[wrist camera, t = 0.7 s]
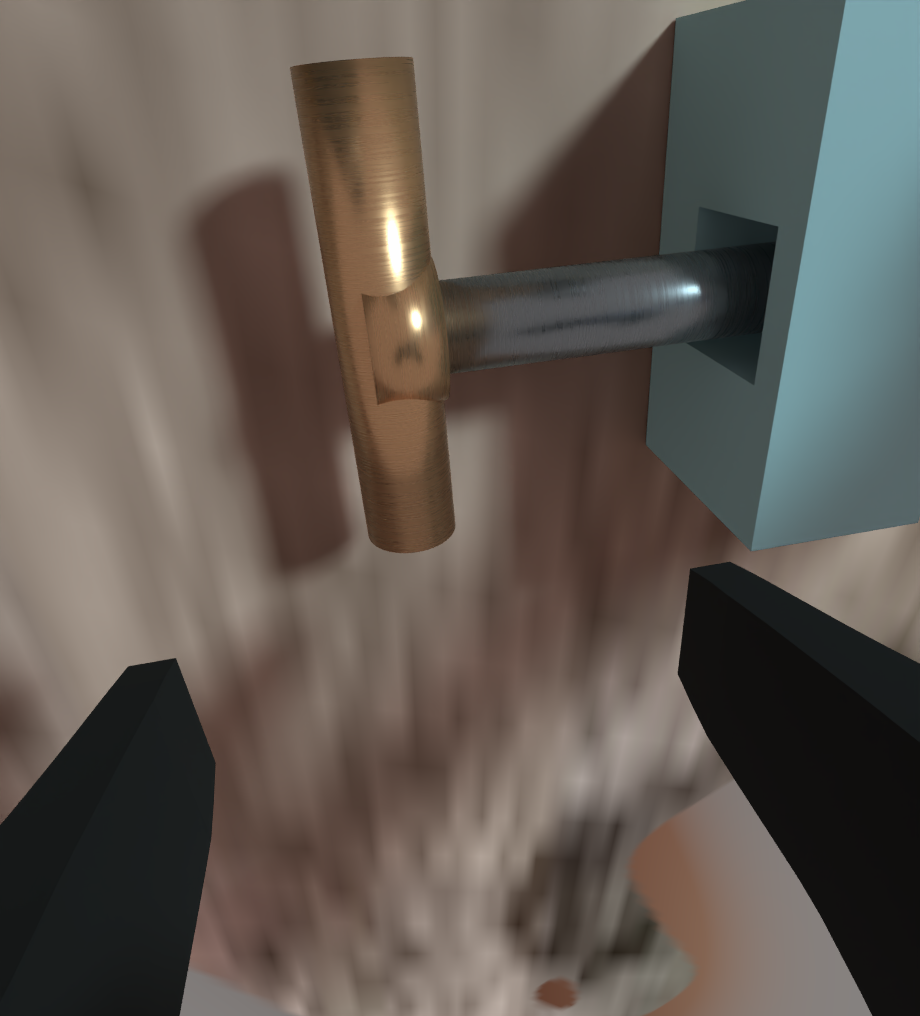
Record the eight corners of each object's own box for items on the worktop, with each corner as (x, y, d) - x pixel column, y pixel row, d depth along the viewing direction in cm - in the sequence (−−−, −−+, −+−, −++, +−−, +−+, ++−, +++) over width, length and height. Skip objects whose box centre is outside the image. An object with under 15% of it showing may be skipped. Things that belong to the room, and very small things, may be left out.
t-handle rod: (973, 18, 14) (1110, -1, 12) (870, 427, 18) (952, 475, 16) (292, 71, 12) (286, 62, 10) (364, 505, 17) (372, 570, 15)
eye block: (848, 5, 15) (1096, -44, 10) (775, 425, 20) (917, 522, 15) (675, 18, 15) (850, -27, 10) (645, 444, 20) (751, 551, 15)
